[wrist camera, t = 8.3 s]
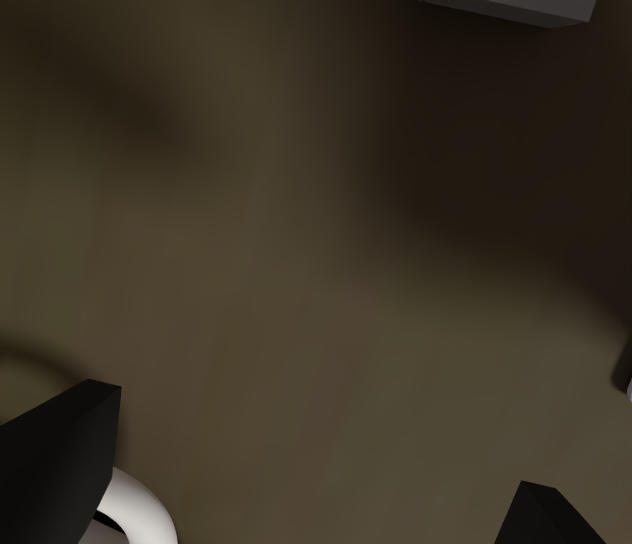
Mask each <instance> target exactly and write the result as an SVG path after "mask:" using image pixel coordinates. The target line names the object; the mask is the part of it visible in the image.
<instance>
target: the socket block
mask: <svg viewBox="0 0 632 544" xmlns="http://www.w3.org/2000/svg"><path fill="white" fill-rule="evenodd" d="M417 1H422V2H427V3H431V4H436V5H441V6H446V7H450V8H455V9H460V10H464V11H469V12H474V13H479V14H483V15H488V16H493V17H497V18H502V19H507V20H512V21H516V22H521V23H526V24H531V25H535V26H540V27H545V28H549V29H551V28H557V27H563V26H569V25H575V24H581V23H587V22H589V21H590V18H591V15H592V12H593V9H594V6H595V3H596V0H417Z"/></svg>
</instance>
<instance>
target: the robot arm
mask: <svg viewBox="0 0 632 544" xmlns="http://www.w3.org/2000/svg"><path fill="white" fill-rule="evenodd" d="M121 389H122V387H121V386H117V385H112V384H108V383H104V382H100V381H95V380H91V379H87V380H85V381H83V382H81V383H79V384H77V385H75V386H73V387H72V388H70V389H68V390H66V391H64V392H62V393H61V394H59V395H57V396H55V397H53V398H52V399H50V400H48V401H46V402H44V403H42V404H41V405H39V406H37V407H35V408H33V409H31V410H30V411H28V412H26V413H24V414H22V415H20V416H18V417H16V418H14V419H13V420H11V421H9V422H7V423H5V424H3V425H1V426H0V544H78V543H79V541H80V540H81V538H82V537H83V535H84V533H85V532H86V530H87V528H88V526H89V524H90V522H91V520H92V518H93V516H94V514H95V512H96V510H97V508H98V506H99V504H100V502H101V500H102V498H103V496H104V494H105V492H106V490H107V488H108V486H109V484H110V481H111V479H112V474H113V464H114V455H115V445H116V436H117V426H118V417H119V408H120V398H121ZM627 395H628V398H629V399H630V401H631V402H632V379H631V382H630V384H629V386H628V389H627ZM494 544H606V543H605V542H604V541H603V539H602V538H601V537H600V536H599V535H598V534H597V533H596V532H595V530H594V529H593V528H592V527H591V526H590V525H589V524H588V523H587V521H586V520H585V519H584V518H583V517H582V516H581V515H580V514H579V512H578V511H577V510H576V509H575V508H574V507H573V506H572V505H571V504H570V503H569V502H568V501H567V499H566V498H565V497H564V496H563V495H562V494H561V493H560V492H559V491H558V490H557V489H556V488H552V487H548V486H544V485H539V484H535V483H531V482H527V481H522V480H521V482H520V485H519V487H518V489H517V492H516V494H515V496H514V499H513V501H512V503H511V506H510V508H509V510H508V513H507V515H506V517H505V520H504V522H503V524H502V527H501V529H500V531H499V534H498V536H497V538H496V541H495V543H494Z"/></svg>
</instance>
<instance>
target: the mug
mask: <svg viewBox="0 0 632 544" xmlns="http://www.w3.org/2000/svg"><path fill="white" fill-rule="evenodd" d="M97 510H99V511H100V512H102V513H104V514H106V515H107V516H109V517H110V518H112V519H113V520H114V521H115V522H117V523H118V524H119V525H120V527H121V528H122V529H123V530H124V532H125V534H126V535H125V534H123V533H121V532H119V531H117V530H114V529H112V528H110V527H108V526H106V525H104V524H102V523H100V522H98V521H96V520H94V519H92V520H91V522H90V524H89V526H88V528H87V530H86V532H85V533H84V535H83V537H82V538H81V540H80V541H79V543H78V544H178V542H177V535H176V531H175V527H174V524H173V522H172V519H171V517H170V515H169V513H168V512H167V510H166V509H165V507H164V506H163V504H162V503H161V502H160V500H159V499H158V498H157V497H156V496H155V495H154V494H153V493H152V492H151V491H150V490H149V489H148V488H147V487H145V486H144V485H143V484H142V483H140V482H139V481H137V480H136V479H135V478H133V477H132V476H130V475H128V474H127V473H125V472H123V471H121V470H119V469H117V468H115V467H113V474H112V479H111V481H110V484H109V486H108V488H107V490H106V492H105V494H104V496H103V498H102V500H101V502H100V504H99V506H98V508H97Z"/></svg>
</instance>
